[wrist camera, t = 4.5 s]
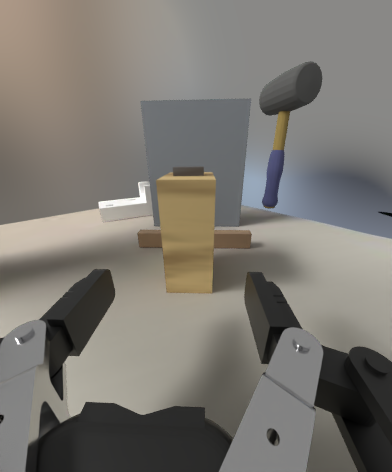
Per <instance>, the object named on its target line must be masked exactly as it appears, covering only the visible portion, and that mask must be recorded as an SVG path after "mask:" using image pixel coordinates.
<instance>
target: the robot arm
mask: <svg viewBox="0 0 392 472" xmlns="http://www.w3.org/2000/svg"><path fill="white" fill-rule="evenodd" d="M114 297H115V288H114V284H113V280H112V276H111V272H110V270H108V269H95V270H93V271H92V272H91V273H90V274H89V275H88V276H87V277H86V278H83V279H82V280H80V281H79V282H77V283H75V284H74V285H73V286H72V287H71V288H70V289H69V290H68V292H66V293H65V294H64V295H63V297H62V298H60V299H59V300H58V301H57V302H56V303H55V304H54V305H53V306H52V307H51V308H50V309H49V310H48V311H47V312H46V313H45V314H44V315H43V316H42V317H41V318H40V319H39V320H35V321H30V322H27V323H25V324H22V325H20V326H19V327H17V328H15V329H14V330H12V331H11V332H10V333H9V334H8V335H7V336H6V337H4V338H0V472H306V468H307V463H308V457H309V451H310V445H311V439H312V434H313V428H314V422H315V414H316V410H315V408H314V406H317V407H319V408H322V409H324V410H327V411H329V412H331V413H332V414H333V417H334V419H335V421H336V423H337V426H338V428H339V430H340V432H341V434H342V437H343V439H344V441H345V443H346V446H347V448H348V450H349V452H350V455H351V457H352V459H353V461H354V464H355V466H356V468H357V470H358V472H392V362H391V361H390V360H388V359H387V358H386V357H384V356H383V355H381V354H379V353H378V352H376V351H374V350H371V349H369V348H365V347H354V348H352V349H351V350H350V352H349V354H347V353H344V352H340V351H337V350H334V349H331V348H328V347H325V346H322V345H321V344H320V343H319V341H318V340H317V339H316V338H315V337H314V336H313V335H312V334H310V333H309V332H307V331H305V330H303V329H302V327H301V326H300V324H299V322H298V320H297V319H296V317H295V315H294V313H293V311H292V310H291V308H290V306H289V304H287V301H286V299H285V297H284V295H283V294H282V292H281V290H280V288H279V287H277V286H276V285H275V284H274V283H273V282H266V280H265V277H264V275H263V274H262V272H248V273H247V278H246V286H245V294H244V298H245V305H246V309H247V313H248V316H249V320H250V324H251V327H252V331H253V334H254V338H255V342H256V345H257V349H258V353H259V356H260V360H261V364H269V365H268V367H267V369H266V371H265V373H263V374H262V376H261V378H260V380H259V383H258V385H257V387H256V389H255V392H254V394H253V396H252V398H251V401H250V403H249V405H248V407H247V409H246V412H245V414H244V416H243V418H242V421H241V423H240V425H239V427H238V430H237V432H236V434H235V436H234V439H233V438H232V437H231V436H230V435H229V434H228V433H227V432H226V431H225V430H224V429H223V428H221V427H220V426H219V425H218V424H216V423H214V422H213V421H211V420H209V419H206V418H205V408H202V407H181V406H174V407H170V408H167V409H163V410H160V411H156V412H153V413H149V414H146V415H140V414H137V413H135V412H133V411H131V410H128V409H126V408H124V407H122V406H119V405H117V404H115V403H96V402H86V403H85V405H84V407H83V409H82V411H81V414H78V415H76V416H73V417H71V418H70V414H69V411H68V404H67V381H66V364H65V360H66V359H67V357H68V356H79V355H80V354H81V352H82V350H83V349H84V347H85V346H86V344H87V342H88V341H89V339H90V337H91V336H92V334H93V333H94V331H95V329H96V328H97V326H98V325H99V323H100V321H101V320H102V318H103V317H104V315H105V313H106V312H107V310H108V308H109V307H110V305H111V304H112V302H113V300H114Z"/></svg>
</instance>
